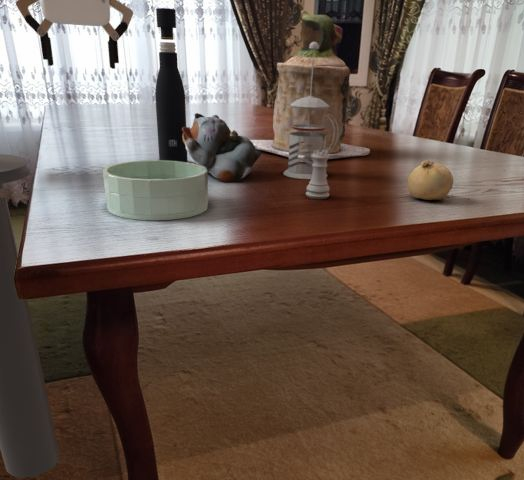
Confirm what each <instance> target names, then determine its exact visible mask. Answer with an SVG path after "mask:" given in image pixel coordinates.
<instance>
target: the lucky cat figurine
mask: <svg viewBox="0 0 524 480" xmlns="http://www.w3.org/2000/svg"><path fill="white" fill-rule="evenodd" d="M182 131H183V142H184V144H185V146H186V150H187V154H188V155H189V156H190V157H191V158H192V160H193V162H195V164H198V165H201V166H204V167H206V169H207V171H208V174H210V175H212V177H214V178H216V179H218V180H219V181H221V182H224V183H226V182H227V183H232V182H233V183H237V182H240V180H241V179H244V178H245V177H246V176H248V175H249V174H250V173H251V170H252V167H253V166H254V165H255V163H256V162H257V161H258V160H259V158H260V157H261V155H262V151H261V150H259V149H256V148H255V146H254V145H253V143H252V142H251V141H250V140H251V139H250V138H249V137H246V136H243V135H239V133H238V132H237V131H236V130H234V129H233V130H232V131H231V129H230V127H229V126H228V124H227V123H226V121H225V120H224V119H222V118H220V116H219V115H217V114H213V115H212V116H205V115H204V114H201V113H198V112H195V113H194V119H193V123H192V125H191V127H190V126H189V127H188V126H186V127H183V128H182Z"/></svg>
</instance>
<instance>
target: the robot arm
mask: <svg viewBox="0 0 524 480" xmlns="http://www.w3.org/2000/svg"><path fill="white" fill-rule="evenodd" d="M38 2H40V6H41V11H42V15H43V17H44V18H43V20H42V21H41V22H38V20H37V19H35V17H33V15H32V13H31V12H30V9H29V8H30V7H31V6H33V5H35V4H37V3H38ZM15 6H16V8H17V9H18V11H19V13H20V15H21V16H22V17H23V19H24V21H25V22H26V24H27V25H28V26H29V27H30V28H32V30H33V31H34V32H36V34H37V35H38V36H39V39H40V47H41V54H42V60H47V66H48V67H52V66H54V57H53V50H52V49H53V48H52V41H51V40H52V39H51V37H50V36H49V31H50V29H51V28H52V26H53V25H54V24H61V25H73V26H86V27H88V26H89V27H101V28H102V29H103V30H104V32H105V33H106V34H107V35H108V41H107V48H108V49H107V51H108V61H109V68H111V69H112V70H116V64H119V63H120V59H119V57H120V56H119V45H118V41H119V39H120V38H122V36H123V35H124V33H125V32H126V31H127V30H128V28H129V25H130V24H131V21H132V19H133V16H134V11H133V10H132V8H130V7H128V6H127V5H125V4H123V3H122V2H120V1H119V0H16V2H15ZM111 8H112V9H114V10H115V11H117V12H119V13H120V14H121V15H122V17H121V21H119V22H120V23H119V24H118V25H117V26H116V28H114V27H113V26H112V24H111V23H110V21H111Z"/></svg>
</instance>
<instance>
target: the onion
mask: <svg viewBox="0 0 524 480" xmlns="http://www.w3.org/2000/svg"><path fill="white" fill-rule="evenodd" d="M453 186H454V177H453V174H452V171H451V170H450V169H449V168H448V167H446V165H444V164H442V163H437V162H434V161H432V160H429V159H426V160H422V161H421V164H419V165H418V166H416V167H415V168H414V169H413V170H412V172H411V173H410V174H409V176H408V179H407V189H408V192H409V195H410V196H411V197H413V198H415V199H422V200H426V201H429V200H430V201H432V200H436V201H443V200H445V199H446V197H447V196H448V194H449V193H450V192H451V190H452V188H453Z"/></svg>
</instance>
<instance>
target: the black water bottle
mask: <svg viewBox="0 0 524 480" xmlns="http://www.w3.org/2000/svg"><path fill="white" fill-rule="evenodd" d="M155 13H156V14H155V15H156V28H160V39H161V40H167V41H169V42H167V41H160V42H159V47H160V48H159V50H160V52H158V59H159V61H158V62H159V69H158V73H157V77H156V82H155V92H154V97H155V98H154V99H155V113H156V114H155V115H156V128H157V145H158V147H157V148H158V160H168V161H181V162H189V161H188V151H187V150H186V146H185V144H184V142H183V131H182V128H183V127H187V115H186V114H187V109H186V108H187V107H186V93H185V88H184V87H185V86H184V83H183V79H182V75H181V73H180V70H179V66H178V65H179V64H178V53H177V52H176V50H177V48H176V46H177V45H176V43H175V42H171V41H174V40H175V39H174V29H176V28H177V14H176V9H175V8H170V7H169V8H168V7H167V8H166V7H157V8H156V9H155Z"/></svg>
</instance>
